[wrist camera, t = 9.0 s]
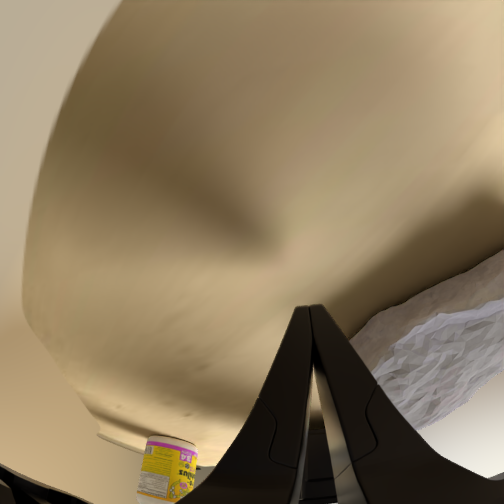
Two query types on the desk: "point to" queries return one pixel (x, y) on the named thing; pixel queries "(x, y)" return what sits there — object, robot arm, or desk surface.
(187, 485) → the supplement bottle
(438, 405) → the stone block
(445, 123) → the desk surface
